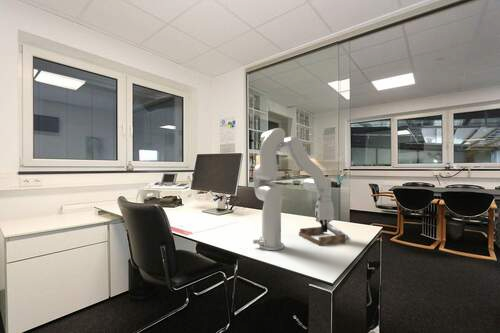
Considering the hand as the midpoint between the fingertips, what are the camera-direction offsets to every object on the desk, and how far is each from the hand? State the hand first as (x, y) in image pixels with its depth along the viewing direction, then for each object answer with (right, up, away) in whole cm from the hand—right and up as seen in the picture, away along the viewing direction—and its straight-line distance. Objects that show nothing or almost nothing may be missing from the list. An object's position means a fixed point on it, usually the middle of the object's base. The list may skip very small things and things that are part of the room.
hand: (324, 231), depth 130 cm
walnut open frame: (-2, -4, -1) cm, 4 cm away
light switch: (+7, -4, +2) cm, 8 cm away
